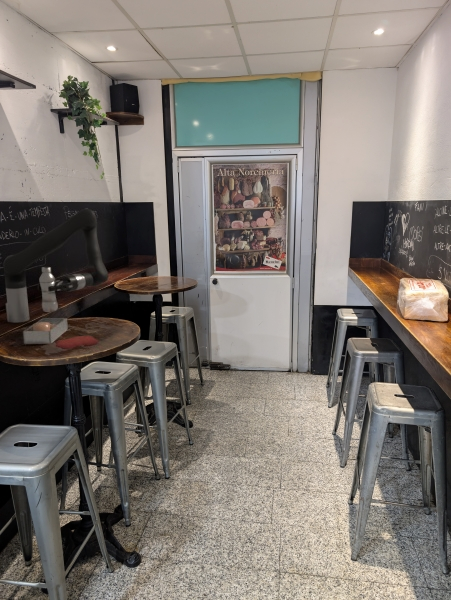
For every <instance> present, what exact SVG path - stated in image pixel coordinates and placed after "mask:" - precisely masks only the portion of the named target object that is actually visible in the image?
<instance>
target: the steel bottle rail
mask: <svg viewBox="0 0 451 600" xmlns="http://www.w3.org/2000/svg"><path fill="white" fill-rule="evenodd" d="M39 322H48V323H50V331H33V324H32V325H31V326H29V327H28V328H26V329H24V330H23V331H22V334H23V335H22V337H23V344H24V345H44V344H45V345H51V344H53V343H54V342H56V341H57V339H58V338H60V337H61V336H62V335H63V334H64V333H65V332H67V331H68V326H69V325H68V318H64V317H63V318H62V317H61V318H60V317H59V318H58V317H57V318H56V317H54V318H53V317H52V318H51V317H49V318H47V317H45V318H41V319H39V320H38V321H37V322H36V323H39Z"/></svg>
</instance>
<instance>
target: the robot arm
mask: <svg viewBox="0 0 451 600" xmlns="http://www.w3.org/2000/svg"><path fill="white" fill-rule="evenodd" d="M79 230H82V233H83V236H84V239H85V252H86V258H87V263H88V266H89V267H90V268H92V269H95V271H92V272H90V273H89V272H83V273H82V272H80V273H73V274H68V275H63V276H62V277H61V278H60V279H59V280H55V285H54V286H49V287H48V291H50V292H51V291H55V292H56V291H57V292H58V291H62V292H63V291H64V292H66V293H69V292H73V291H78V290H81V289H84V288H88V287H89V288H90V287H91V288H93V287H97V286H100V285H101V284H104V283H106V282H107V281H108V279H109V272H108V270H107V269H106V268H107V267H106V266H105V264H104V262H103V257H102V253H101V248H100V244H99V239H98V219H97V217H96V214H95V212H94V211H93V210H92V209H89V208H83V209H82V210H79V211H78V212H77V213H75V214H74V215H73V216H71V217H70V218H69V219H67V220H66V221H64V222H63V223H61V224H60V225H58V226H56V227H55V228H53V229H51V230H50V231H48V232H46V233H44V234H43V235H42V236H40V237H38V238H37V239H35V240H34V241H33V242H32V243H30V245H29V246H28V247H26V248H25V249H23V250H22V251H19V252H18V253H16V254H11V255H8V256H6V258H5V259H4V261H3V263H2V267H3V270H4V279H5V280H4V281H5V283H4V284H5V292H6V300H7V301H6V303H5V310H6V318H7V320H6V321H7V322H8V323H24V322H28V321H30V313H29V312H30V310H29V303H28V302H29V301H28V291H27V278H26V269H27V268H28V267H30V266H31V265H32V264H33V263H35V262H37V261H39V260H40V259H42V258H44V257H46V256H48V255H50V254H52V253H53V252H55V251H57V250H59V249H60V248H61V247H63V246H64V245H65V244H66V243H67V241H68V240H69V239H70V238H71V237H72V236H73V235H74V234H76V233H77V232H78V231H79ZM37 290H38V291H42V290H41V286H40V284H38V285H37Z"/></svg>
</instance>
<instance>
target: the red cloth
mask: <svg viewBox="0 0 451 600" xmlns="http://www.w3.org/2000/svg"><path fill="white" fill-rule="evenodd" d="M54 342H55V347H56V348H60V349H62V350H71V349H75V348H78V347H82V346H83V348H85V347H91V346H95V345H97V344H99V340H98V339H96V338H94V337H93V336H92V335H80V336H73V337H70V338H68V339H67V338H66V339H58V340H56V341H54Z"/></svg>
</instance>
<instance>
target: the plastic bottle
mask: <svg viewBox="0 0 451 600" xmlns="http://www.w3.org/2000/svg"><path fill="white" fill-rule="evenodd" d="M55 281H56V278H55V276H54V275H53V273H52V267H50V266H43V267H41V275H40V277H39V285H40V286H41V290H40V291H41V294H42V295H41V297H42V299H41V307H42V311H43V312H46V313H52V312H56V311H57V310H58V309H59V304H58V301H57V298H56V297H57V296H56V291H51V292H50V291H48V287H49V286H54V285H55Z"/></svg>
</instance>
